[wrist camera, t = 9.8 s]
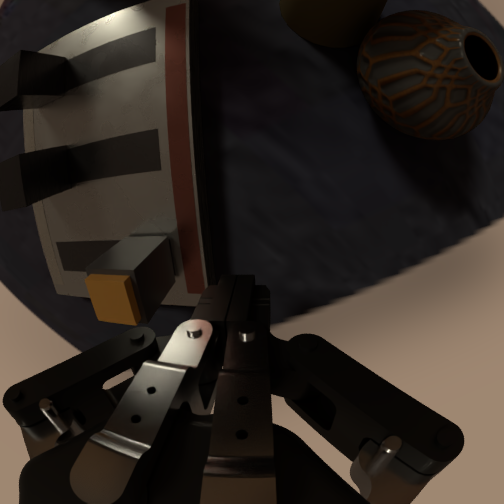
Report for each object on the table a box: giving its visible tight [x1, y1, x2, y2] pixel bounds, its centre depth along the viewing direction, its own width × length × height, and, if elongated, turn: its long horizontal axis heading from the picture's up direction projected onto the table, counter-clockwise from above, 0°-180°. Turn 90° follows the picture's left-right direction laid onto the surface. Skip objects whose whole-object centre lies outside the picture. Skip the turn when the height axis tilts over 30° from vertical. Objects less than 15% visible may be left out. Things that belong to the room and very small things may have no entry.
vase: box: [357, 10, 504, 140], centre depth 9 cm, size 7×7×9 cm
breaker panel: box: [0, 0, 216, 306], centre depth 14 cm, size 14×20×6 cm
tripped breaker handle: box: [85, 236, 176, 326], centre depth 14 cm, size 3×3×5 cm
